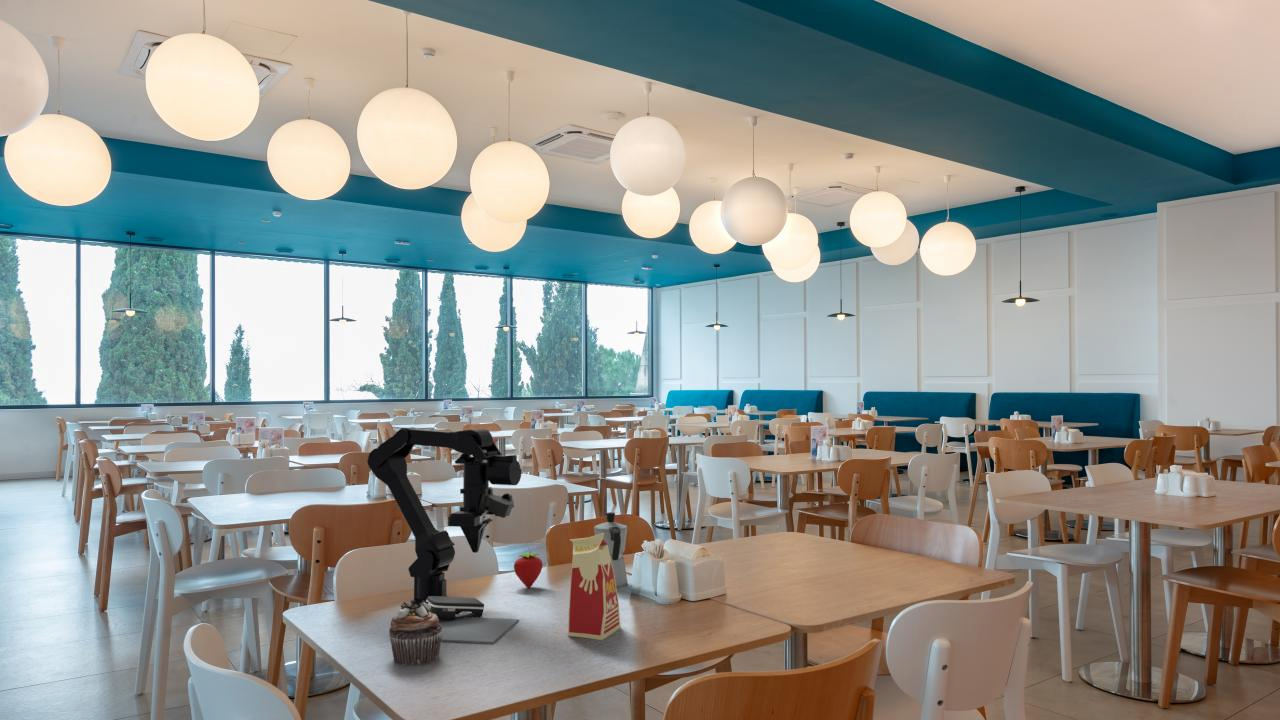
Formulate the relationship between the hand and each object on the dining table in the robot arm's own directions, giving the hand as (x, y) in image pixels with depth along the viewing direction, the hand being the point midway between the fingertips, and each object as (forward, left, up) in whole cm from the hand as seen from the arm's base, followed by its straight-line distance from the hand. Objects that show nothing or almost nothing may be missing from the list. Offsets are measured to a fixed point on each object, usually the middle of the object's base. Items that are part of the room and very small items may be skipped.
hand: (475, 552), depth 185 cm
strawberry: (+7, +18, -12) cm, 23 cm away
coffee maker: (+27, +24, -12) cm, 38 cm away
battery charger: (+4, -8, -11) cm, 14 cm away
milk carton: (+31, -16, -12) cm, 37 cm away
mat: (+5, -19, -12) cm, 23 cm away
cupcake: (+3, -37, -12) cm, 39 cm away
